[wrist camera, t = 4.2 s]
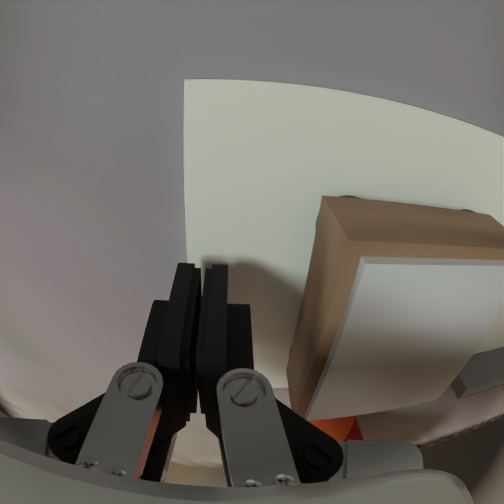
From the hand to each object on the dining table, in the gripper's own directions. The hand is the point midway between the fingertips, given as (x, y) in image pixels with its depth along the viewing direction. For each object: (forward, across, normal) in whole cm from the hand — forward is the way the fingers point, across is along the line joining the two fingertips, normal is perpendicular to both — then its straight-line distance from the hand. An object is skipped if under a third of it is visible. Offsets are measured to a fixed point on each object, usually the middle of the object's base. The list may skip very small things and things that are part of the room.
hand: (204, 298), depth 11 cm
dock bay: (+1, -13, 0) cm, 13 cm away
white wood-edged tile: (+1, -7, 0) cm, 7 cm away
